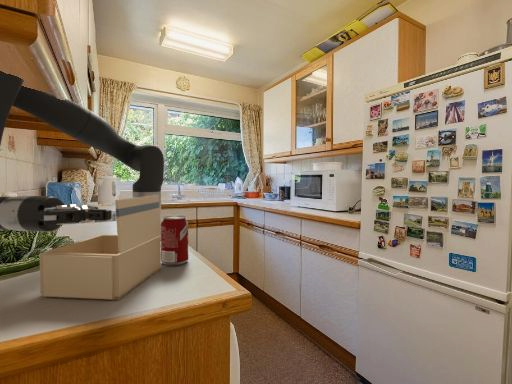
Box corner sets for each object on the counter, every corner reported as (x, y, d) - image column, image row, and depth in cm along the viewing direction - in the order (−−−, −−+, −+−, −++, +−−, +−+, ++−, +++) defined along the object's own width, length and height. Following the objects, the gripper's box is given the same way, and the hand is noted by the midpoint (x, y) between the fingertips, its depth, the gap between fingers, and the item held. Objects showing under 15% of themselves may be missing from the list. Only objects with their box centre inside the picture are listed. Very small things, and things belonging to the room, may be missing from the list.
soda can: (174, 268, 66) (174, 219, 65) (155, 264, 69) (154, 217, 68) (193, 261, 72) (193, 216, 71) (175, 257, 75) (174, 214, 74)
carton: (101, 266, 67) (100, 234, 67) (161, 268, 66) (161, 235, 65) (35, 297, 49) (34, 253, 49) (117, 301, 48) (116, 256, 47)
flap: (158, 235, 64) (156, 195, 64) (160, 235, 64) (158, 195, 64) (118, 253, 48) (115, 199, 48) (121, 253, 48) (117, 199, 48)
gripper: (0, 197, 51) (86, 199, 50) (57, 194, 65) (127, 195, 63) (1, 237, 52) (87, 239, 50) (58, 225, 65) (127, 227, 63)
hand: (109, 214), depth 57 cm, fingers closed
